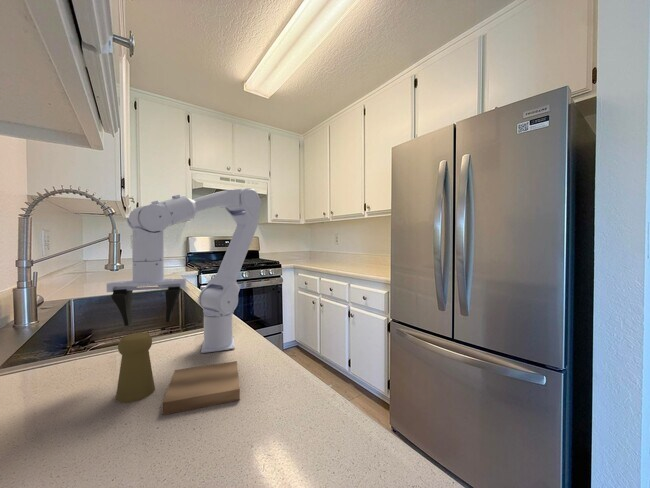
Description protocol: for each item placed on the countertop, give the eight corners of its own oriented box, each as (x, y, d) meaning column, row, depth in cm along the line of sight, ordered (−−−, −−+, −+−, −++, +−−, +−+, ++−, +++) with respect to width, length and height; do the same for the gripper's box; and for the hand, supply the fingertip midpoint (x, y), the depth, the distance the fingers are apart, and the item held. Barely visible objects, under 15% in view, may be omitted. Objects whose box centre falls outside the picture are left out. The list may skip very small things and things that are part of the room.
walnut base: (175, 379, 56) (174, 370, 56) (236, 370, 60) (236, 361, 60) (162, 415, 44) (162, 402, 44) (239, 400, 49) (239, 388, 49)
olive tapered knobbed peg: (135, 404, 47) (134, 341, 47) (106, 400, 48) (106, 338, 48) (162, 386, 53) (162, 330, 53) (136, 383, 54) (136, 328, 54)
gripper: (99, 262, 53) (100, 332, 53) (183, 261, 58) (183, 324, 58) (113, 260, 60) (114, 322, 60) (187, 259, 65) (187, 315, 65)
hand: (148, 322), depth 60 cm, fingers open, 7 cm apart
